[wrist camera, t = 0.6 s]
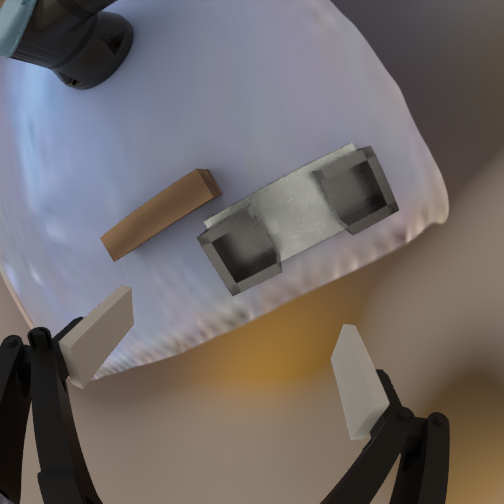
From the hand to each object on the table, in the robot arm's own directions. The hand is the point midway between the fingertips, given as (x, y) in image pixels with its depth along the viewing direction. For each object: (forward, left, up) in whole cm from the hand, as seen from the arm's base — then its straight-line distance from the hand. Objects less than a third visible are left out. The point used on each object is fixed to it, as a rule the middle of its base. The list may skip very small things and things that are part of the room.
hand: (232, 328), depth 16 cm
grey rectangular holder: (-1, +6, -23) cm, 24 cm away
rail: (-10, -10, -24) cm, 27 cm away
